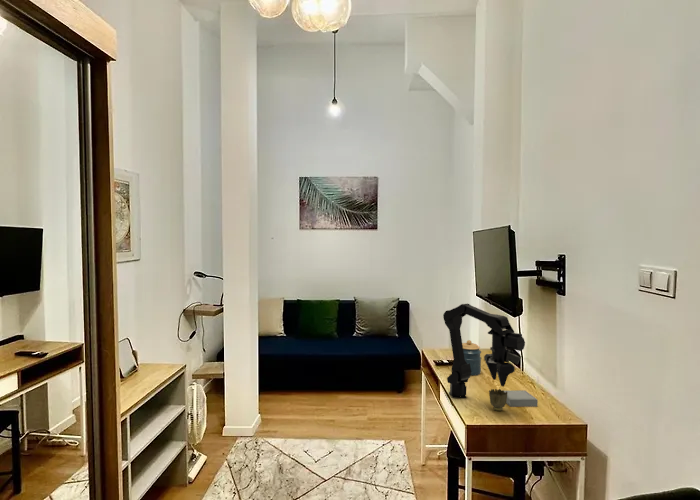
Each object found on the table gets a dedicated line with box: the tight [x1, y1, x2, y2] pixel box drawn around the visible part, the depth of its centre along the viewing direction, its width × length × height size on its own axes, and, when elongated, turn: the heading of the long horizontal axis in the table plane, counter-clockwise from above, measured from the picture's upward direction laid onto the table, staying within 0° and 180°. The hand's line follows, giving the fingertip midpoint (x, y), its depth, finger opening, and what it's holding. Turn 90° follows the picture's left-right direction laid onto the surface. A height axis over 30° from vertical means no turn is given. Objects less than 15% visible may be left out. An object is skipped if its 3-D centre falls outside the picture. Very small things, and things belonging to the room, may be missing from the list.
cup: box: [488, 388, 508, 412], centre depth 189 cm, size 8×7×8 cm
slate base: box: [504, 389, 539, 408], centre depth 199 cm, size 12×12×3 cm
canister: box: [462, 339, 482, 376], centre depth 244 cm, size 13×13×18 cm
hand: (498, 382), depth 189 cm, fingers open, 9 cm apart
